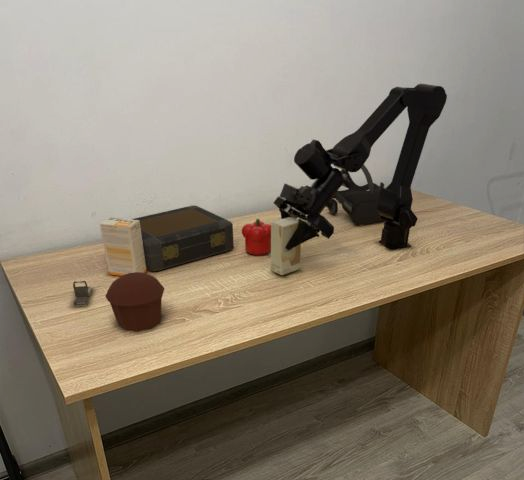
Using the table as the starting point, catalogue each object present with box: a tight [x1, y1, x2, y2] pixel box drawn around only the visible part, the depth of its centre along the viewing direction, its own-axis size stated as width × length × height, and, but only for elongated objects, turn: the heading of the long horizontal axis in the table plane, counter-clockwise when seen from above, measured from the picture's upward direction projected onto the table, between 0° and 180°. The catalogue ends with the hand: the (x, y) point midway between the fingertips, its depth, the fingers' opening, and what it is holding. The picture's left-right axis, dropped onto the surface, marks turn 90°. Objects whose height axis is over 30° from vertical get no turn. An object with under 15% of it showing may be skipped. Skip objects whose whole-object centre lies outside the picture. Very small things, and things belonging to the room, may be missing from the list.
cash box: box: [130, 204, 234, 272], centre depth 141 cm, size 25×20×8 cm
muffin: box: [104, 272, 165, 333], centre depth 108 cm, size 12×11×10 cm
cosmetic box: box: [270, 217, 302, 276], centre depth 127 cm, size 6×4×12 cm
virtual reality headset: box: [327, 164, 385, 226], centre depth 163 cm, size 19×24×15 cm
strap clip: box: [72, 280, 92, 307], centre depth 118 cm, size 8×3×4 cm, turn 8°
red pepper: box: [241, 218, 271, 257], centre depth 139 cm, size 7×7×9 cm
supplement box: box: [99, 216, 148, 277], centre depth 127 cm, size 8×5×13 cm, turn 70°
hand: (281, 245), depth 126 cm, fingers closed on cosmetic box, 5 cm apart
